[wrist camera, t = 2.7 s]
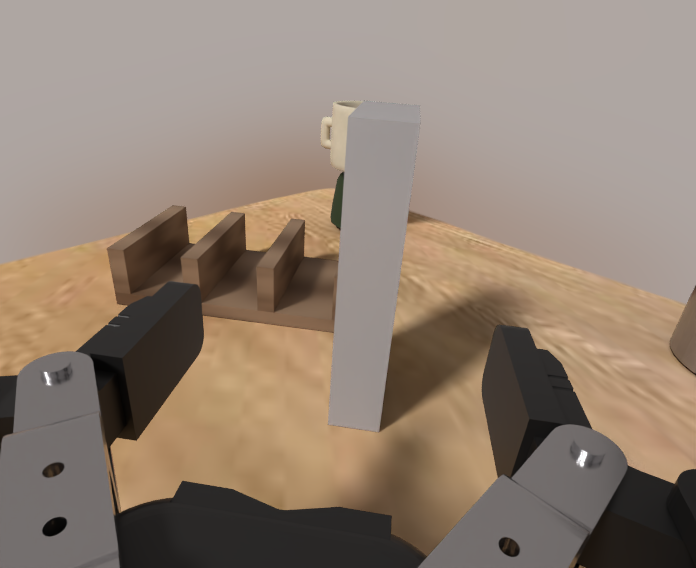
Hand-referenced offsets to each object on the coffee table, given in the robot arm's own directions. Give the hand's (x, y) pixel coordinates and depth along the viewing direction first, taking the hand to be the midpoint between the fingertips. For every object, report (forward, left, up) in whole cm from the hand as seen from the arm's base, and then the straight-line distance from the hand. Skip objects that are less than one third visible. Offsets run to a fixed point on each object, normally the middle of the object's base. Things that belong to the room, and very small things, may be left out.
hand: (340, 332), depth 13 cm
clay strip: (-8, -8, -12) cm, 16 cm away
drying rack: (-8, -23, -12) cm, 27 cm away
